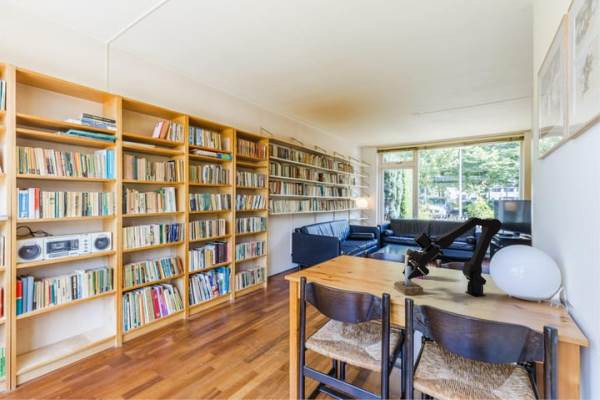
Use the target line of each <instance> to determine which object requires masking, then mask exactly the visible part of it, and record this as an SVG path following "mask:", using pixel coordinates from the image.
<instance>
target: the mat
mask: <svg viewBox="0 0 600 400" xmlns="http://www.w3.org/2000/svg"><path fill="white" fill-rule="evenodd" d="M398 282H405V280H398V281H395V283H398ZM411 282H413V283H415V284H417V285H419V286H421V287H422V285H420V284H418V283H416V282H415V281H412V280H411Z"/></svg>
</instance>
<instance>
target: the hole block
mask: <svg viewBox="0 0 600 400" xmlns="http://www.w3.org/2000/svg"><path fill="white" fill-rule="evenodd" d="M413 282H414V281H412V282H411V287H406V286H405V282H398V283H396V282H394V283H393V290H395V291H397V292H399V293H400V294H402V295H404V296H413V295H424V287H422V285H421V286H419V285H420V284H419V285H417V284H418V283H417V284H415V283H416V282H414V283H413Z"/></svg>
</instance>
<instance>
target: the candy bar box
mask: <svg viewBox="0 0 600 400" xmlns="http://www.w3.org/2000/svg"><path fill="white" fill-rule="evenodd" d="M408 249H409V248H407V249H405V250H404V267H405V266H407V260H408V259H407V258H408V257H409V256H408V255H407V254H406V253H407V251H408ZM411 250H413V251H414V250H416V251H418V252H423V251H424V250H417V249H412V248H411ZM411 272H412V271H411ZM403 275H404V277H405V274H403ZM424 275H425V274H424ZM426 278H427V277H426V275H425V276H420V277H416V278H415V279H418V280H425V279H426Z"/></svg>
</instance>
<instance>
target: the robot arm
mask: <svg viewBox="0 0 600 400" xmlns="http://www.w3.org/2000/svg"><path fill="white" fill-rule="evenodd" d="M476 226H479V227H480V228H481V229H480V231H481V235H480V237H479V239H478V243H477V245H476V247H475V249H474V251H473V254H472V256H471V258H470V260H469V261H464V263H463V266H462V267H461V269H462V274H463V275H464V277H465V279H466V280H467V286H466V287H467V288H466V289H467V290H465V293H466V294H467V295H471V296H472V297H477V298H478V297H486V296H487V294H485V293H484V286H485V285H486V283H487V280H486V279H485V277H483V276H482V274H483V266H482V264H483V261H484V259H485V257H486V254H487V252H488V250H489V247H490V245H491V242H492V241H493V238H495V236H496V235H497V234H499V232H500V231H501V229H502V227H503V224H502V221H501V220H500V219H498V218H493V217H487V218H480V217H476V216H471V217H469V218H468V219H466V220H465V221H463V222H462V223H460V224H459V225H457V226H455V227H454V228H453V229H452V230H449V231H447V232H445V233H442V234H439V235H436V236H435V237H433V238H430V237H429V236H428V235H427V233H426V232H425V231H421V233H419V234H416V236H414V237H413V239H412V240H413V241H414V243H415V244H417V246H418V247H419V248H420V249H424V250H422V251H423V252H418V251H416V250H417V249H412V248H411V249H412V250H411V249H410V248H407V249H408V251H407V253H406V254H407V255H408V256H409V257H408V258H407V259H408V260H407V266H411V271H412V272H411V274H410V275H409V276H408V279H411V280H413V279H417V278H416V277H420V276H425V275H426V276H428V275H429V274H430V269H429V268H428V267H427V265H429V263H430V264H432V263H433V260H434V259H435V258H436V257H437V256H438V255H440V256H442V257H444V255H445V254H444V249H449V248H450V247H451V245H453V244H454V242H455V241H456V240H457V239H458V238H459V237H461V236H462V235H464V234H466V233H467V232H469V231H470V230H472V229H473V228H474V227H476ZM433 244H434V245H433ZM440 248H441V249H440ZM413 250H414V251H413ZM404 274H405V268H404V269H403V271H402V275H404ZM424 274H425V275H424Z"/></svg>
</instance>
